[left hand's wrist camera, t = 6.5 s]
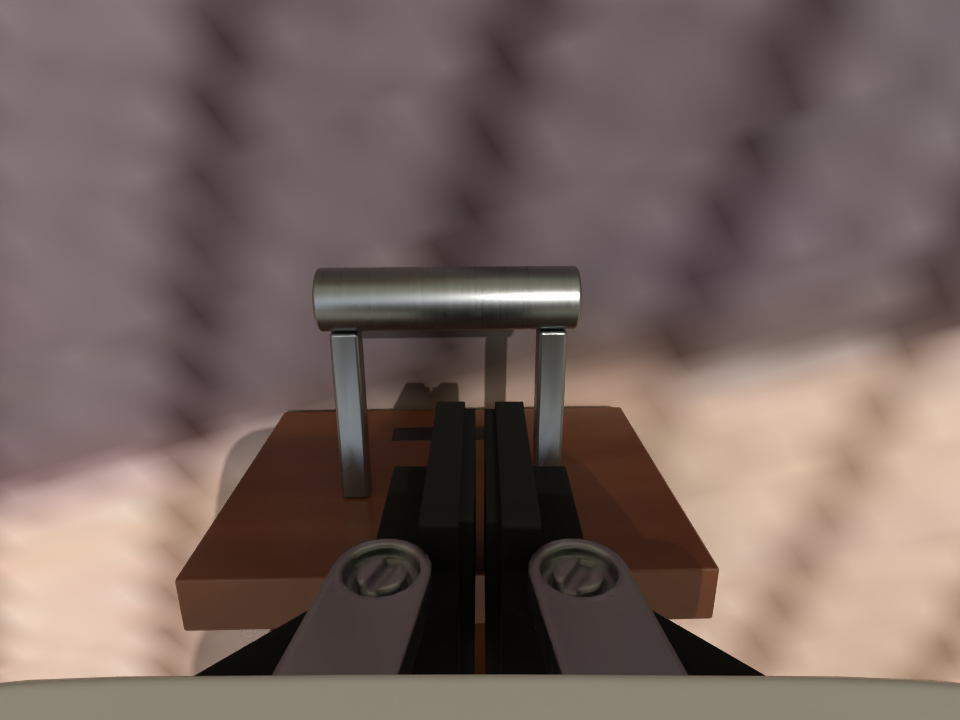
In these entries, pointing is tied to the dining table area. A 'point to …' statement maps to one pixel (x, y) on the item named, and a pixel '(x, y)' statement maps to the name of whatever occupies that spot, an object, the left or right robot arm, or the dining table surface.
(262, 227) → the dining table surface
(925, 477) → the dining table surface
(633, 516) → the drawer
